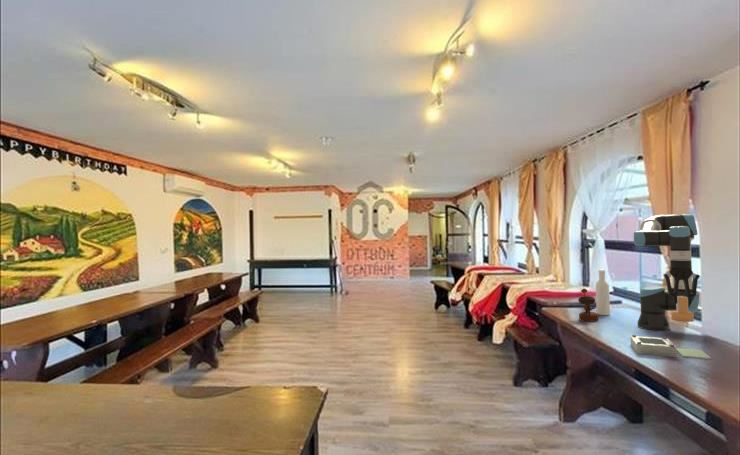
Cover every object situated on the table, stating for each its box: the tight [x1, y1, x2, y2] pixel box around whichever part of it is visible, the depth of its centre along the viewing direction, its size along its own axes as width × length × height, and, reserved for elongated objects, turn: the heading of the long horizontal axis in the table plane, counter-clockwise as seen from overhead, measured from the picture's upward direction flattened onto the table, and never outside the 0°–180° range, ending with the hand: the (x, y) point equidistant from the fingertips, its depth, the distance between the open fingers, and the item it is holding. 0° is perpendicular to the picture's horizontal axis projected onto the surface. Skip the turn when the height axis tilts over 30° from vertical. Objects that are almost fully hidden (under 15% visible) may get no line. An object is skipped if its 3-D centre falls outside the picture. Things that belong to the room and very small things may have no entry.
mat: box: [676, 347, 712, 360], centre depth 178 cm, size 12×10×1 cm
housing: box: [629, 334, 678, 358], centre depth 185 cm, size 15×15×5 cm
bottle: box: [595, 268, 611, 316], centre depth 262 cm, size 8×8×30 cm
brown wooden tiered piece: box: [578, 287, 599, 322], centre depth 248 cm, size 15×11×20 cm
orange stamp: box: [670, 296, 695, 323], centre depth 180 cm, size 8×8×10 cm
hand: (682, 310), depth 180 cm, fingers closed on orange stamp, 2 cm apart
